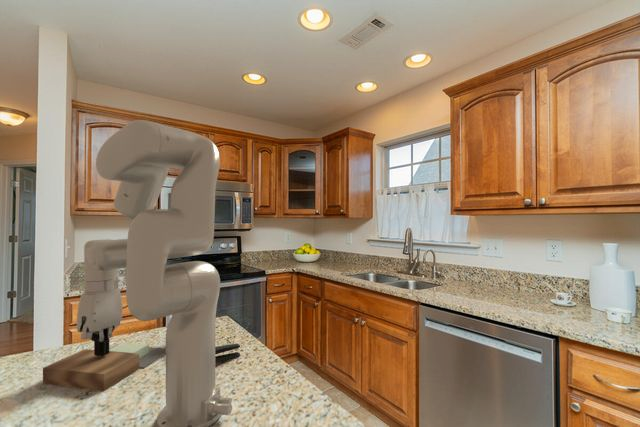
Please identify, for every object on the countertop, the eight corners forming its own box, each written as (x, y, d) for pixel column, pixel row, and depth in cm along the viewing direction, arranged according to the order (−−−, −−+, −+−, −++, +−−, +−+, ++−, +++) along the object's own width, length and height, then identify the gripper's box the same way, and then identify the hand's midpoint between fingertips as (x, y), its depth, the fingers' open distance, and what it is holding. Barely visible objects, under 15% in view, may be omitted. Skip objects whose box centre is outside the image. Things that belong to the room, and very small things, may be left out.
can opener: (184, 382, 78) (184, 359, 78) (174, 372, 83) (174, 351, 83) (246, 359, 91) (246, 340, 91) (234, 352, 96) (234, 333, 96)
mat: (172, 350, 97) (172, 349, 97) (143, 368, 85) (144, 367, 85) (117, 345, 101) (117, 344, 101) (82, 362, 89) (82, 361, 89)
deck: (139, 369, 85) (139, 354, 85) (104, 391, 74) (104, 374, 74) (84, 363, 88) (84, 349, 88) (42, 383, 78) (42, 367, 78)
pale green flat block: (133, 353, 89) (133, 361, 89) (148, 344, 95) (148, 352, 95) (106, 350, 90) (106, 359, 90) (123, 342, 96) (123, 350, 96)
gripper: (113, 279, 92) (113, 342, 92) (62, 291, 77) (62, 366, 77) (135, 280, 91) (135, 344, 90) (87, 292, 76) (87, 369, 76)
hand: (101, 354), depth 84 cm, fingers closed
